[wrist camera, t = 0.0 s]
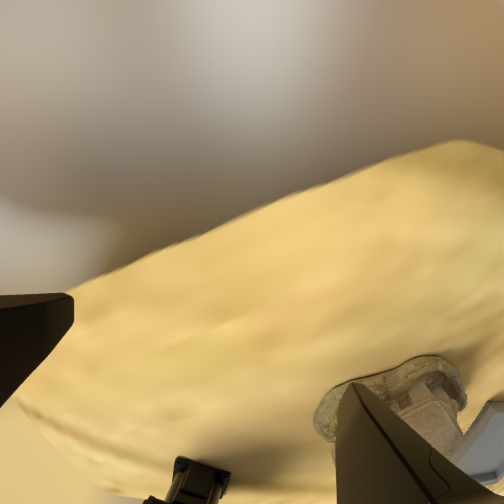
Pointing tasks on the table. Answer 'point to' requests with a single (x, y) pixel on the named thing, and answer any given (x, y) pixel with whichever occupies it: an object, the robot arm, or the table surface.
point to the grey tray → (483, 446)
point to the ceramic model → (409, 402)
